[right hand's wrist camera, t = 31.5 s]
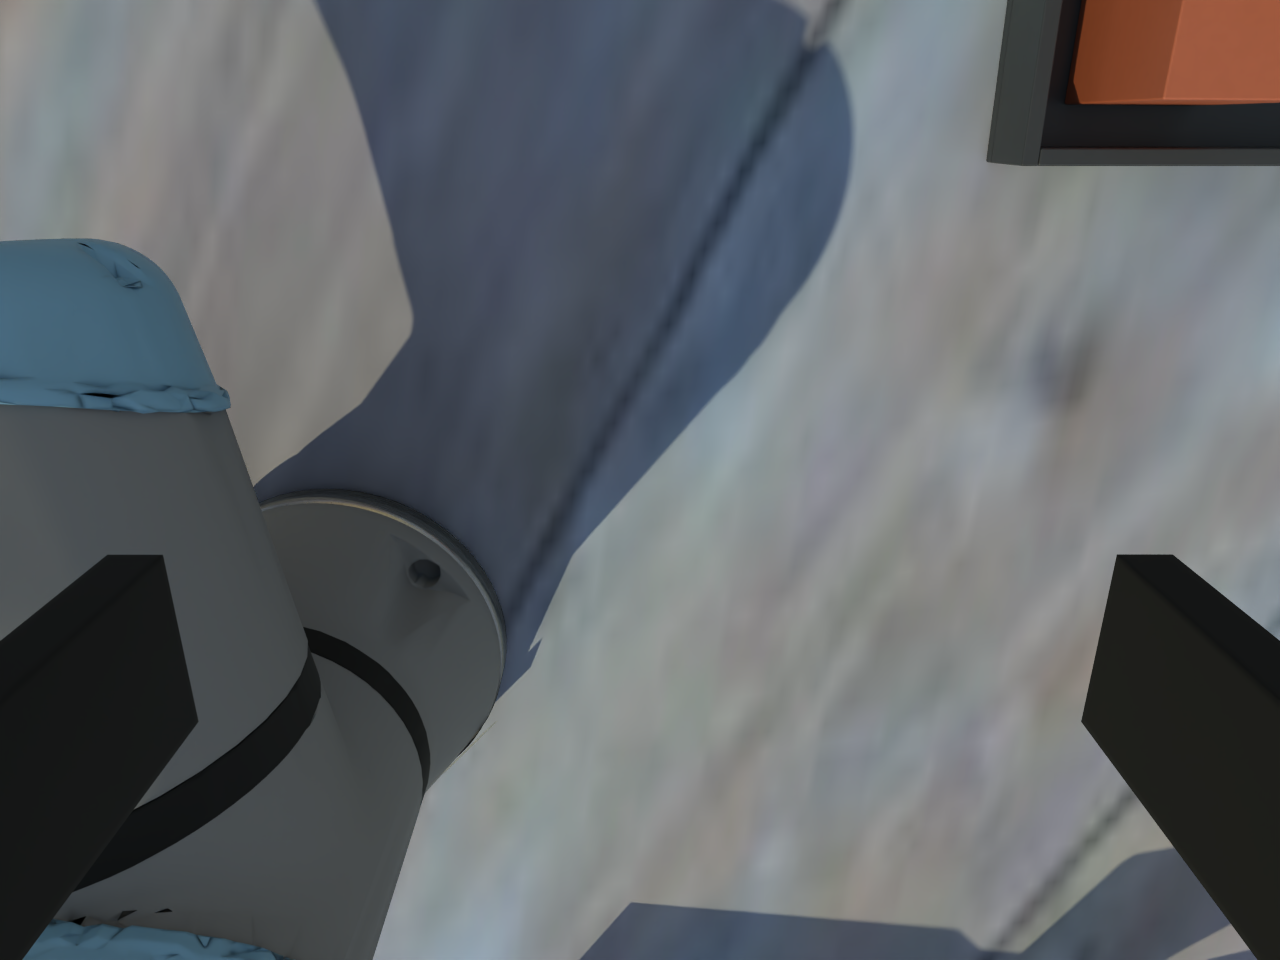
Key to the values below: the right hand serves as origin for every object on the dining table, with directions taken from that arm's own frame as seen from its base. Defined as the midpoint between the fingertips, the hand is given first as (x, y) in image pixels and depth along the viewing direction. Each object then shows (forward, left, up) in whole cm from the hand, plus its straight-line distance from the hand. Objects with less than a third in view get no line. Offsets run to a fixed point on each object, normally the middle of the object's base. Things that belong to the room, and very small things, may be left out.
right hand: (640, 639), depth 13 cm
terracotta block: (+19, +10, -26) cm, 34 cm away
